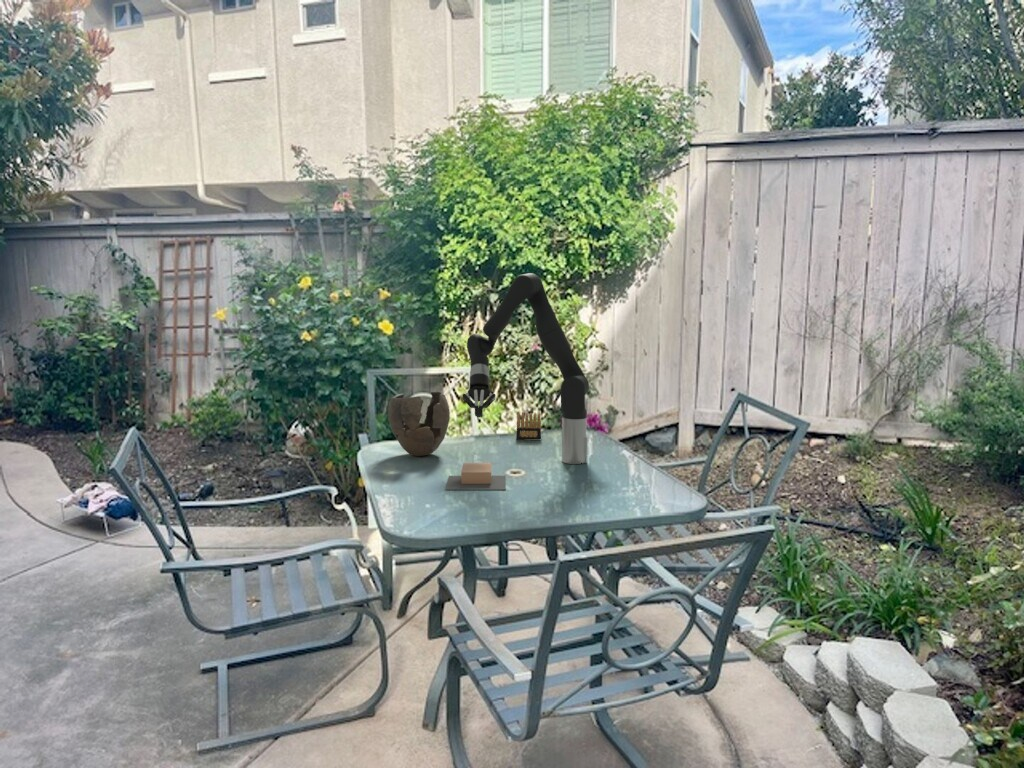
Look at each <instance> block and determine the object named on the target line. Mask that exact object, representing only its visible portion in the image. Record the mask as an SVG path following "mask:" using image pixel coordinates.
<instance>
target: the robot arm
mask: <svg viewBox="0 0 1024 768" xmlns="http://www.w3.org/2000/svg"><path fill="white" fill-rule="evenodd" d="M525 300H527V302H529V305H530V306H531V308H532V309H531V310H532V312H533V314H534V322H535V330H536V334H537V336H538V338H539V341H540V343H541V345H542V347H543V349H544V350H545V352H546V354H548V356H549V357H550V358H551V359H552V361H553V362H554V363H555V364H556V366H557V367H558V370H559V372H560V374H561V376H562V379H563V381H562V383H561V385H560V410H561V413H562V415H561V416H562V417H561V418H562V421H561V462H562V463H564V464H569V465H581V463H582V464H587V462H588V461H587V460H588V458H587V457H588V437H587V421H588V419H587V417H588V415H587V414H588V413H587V412H588V411H587V409H586V395H587V394H588V391H589V390H590V389H589V388H590V384H589V380H588V378H587V377H586V375H585V373H584V372H583V370H582V368H581V367H580V365H579V363H578V362H577V360H576V357H575V355H574V353H573V351H572V348H571V346H570V344H569V342H568V339H567V337H566V335H565V333H564V331H563V328H562V326H561V325H560V322H559V320H558V318H557V316H556V314H555V312H554V309H553V308H552V305H551V304H550V301H549V298H548V295H547V293H546V291H545V287H544V285H543V282H542V279H541V278H540V277H539V276H538V275H536V274H535V273H534V272H532V273H531V272H530V273H528V272H527V273H523V274H519V275H517V276H516V277H515V278H514V280H513V281H512V283H511V285H510V287H509V289H508V290H507V292H506V295H504V298H503V299H502V301H501V303H500V304H499V306H498V307H497V308H496V310H495V311H494V313H492V315H491V316H490V318H488V320H487V321H486V322H485V324H484V325H483V328H482V331H483V333H484V335H485V337H484V336H483V335H481V334H478V333H472V334H471V335H470V336H469V337H468V339H467V341H466V348H467V353H468V356H469V359H470V370H469V385H468V387H469V389H468V390H467V393H462V399H463V401H464V402H465V403H466V404H467V405H468V406H469V408H471V409H474V416H475V417H476V418H481V417H483V409H488V408H489V407H490V406H491V405H492V403H494V401H495V400H496V394H495V393H492V392H491V390H490V366H489V365H490V362H489V361H490V360H489V357H488V356H489V355H491V354H492V353H493V350H494V348H495V344H497V343H496V342H497V340H498V338H499V336H500V335H501V334H502V333H503V331H504V330H505V329H506V327H507V326H508V324H510V322H511V319H512V317H513V315H514V312H515V311H516V310H517V308H518V307H519V306H520V305H521V304H522V303H524V301H525ZM486 336H487V337H486Z"/></svg>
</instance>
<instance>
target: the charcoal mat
mask: <svg viewBox="0 0 1024 768" xmlns="http://www.w3.org/2000/svg"><path fill="white" fill-rule="evenodd" d="M506 477H507V476H506V475H491V484H461V475H448V477H447V478H448V479H447V482H446V484H445V487H444V488H445V489H444V491H506V489H507V488H506V486H507V485H506V484H507V483H506V480H507V479H506Z"/></svg>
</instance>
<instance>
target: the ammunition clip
mask: <svg viewBox="0 0 1024 768" xmlns="http://www.w3.org/2000/svg"><path fill="white" fill-rule="evenodd" d="M525 413H526V414H524V412H521V415H520V412H519V411H518V413H517V415H516V438H515V439H516V441H519V440H520V441H522V440H523V441H525V440H524V439H541V440H542V429H541V428H542V421H541V413H540V412H538V414H537V413H536V412H534V414H533V413H532V412H529V413H528V412H525Z"/></svg>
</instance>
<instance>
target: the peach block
mask: <svg viewBox="0 0 1024 768" xmlns="http://www.w3.org/2000/svg"><path fill="white" fill-rule="evenodd" d="M461 468H462V469H461V471H460V472H461V473H460V476H461V484H491V476H493V474H492V462H463V463H462V467H461Z"/></svg>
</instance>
